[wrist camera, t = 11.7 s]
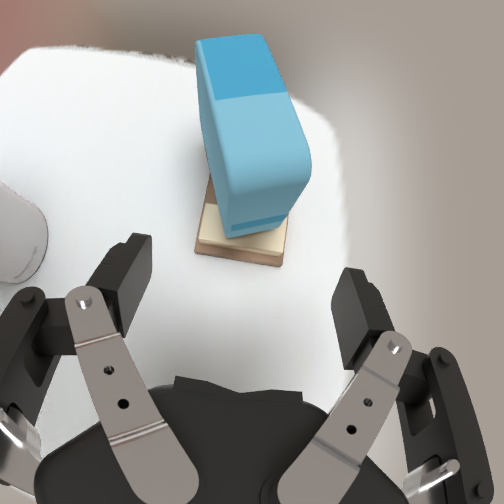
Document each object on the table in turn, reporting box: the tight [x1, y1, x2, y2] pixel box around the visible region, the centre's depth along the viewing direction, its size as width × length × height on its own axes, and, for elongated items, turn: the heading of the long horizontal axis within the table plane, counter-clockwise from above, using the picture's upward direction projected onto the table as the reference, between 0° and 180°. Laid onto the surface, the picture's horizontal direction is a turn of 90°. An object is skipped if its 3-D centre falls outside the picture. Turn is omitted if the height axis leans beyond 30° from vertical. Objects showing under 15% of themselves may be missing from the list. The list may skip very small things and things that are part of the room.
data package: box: [195, 34, 312, 238], centre depth 22 cm, size 12×4×12 cm, turn 14°
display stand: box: [194, 172, 289, 267], centre depth 29 cm, size 8×13×3 cm, turn 171°
